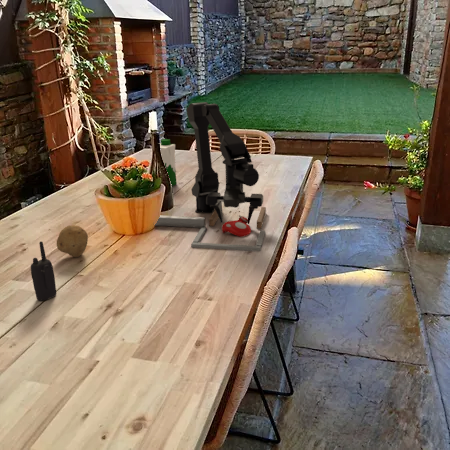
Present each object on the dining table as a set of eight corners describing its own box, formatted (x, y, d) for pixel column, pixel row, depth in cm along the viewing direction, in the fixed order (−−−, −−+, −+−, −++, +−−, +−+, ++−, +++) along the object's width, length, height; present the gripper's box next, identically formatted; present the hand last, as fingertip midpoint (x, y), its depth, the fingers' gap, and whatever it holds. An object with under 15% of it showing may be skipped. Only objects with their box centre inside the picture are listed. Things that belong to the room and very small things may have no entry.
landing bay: (191, 247, 148) (191, 244, 147) (201, 230, 161) (201, 227, 160) (259, 251, 144) (259, 248, 143) (264, 233, 157) (264, 230, 156)
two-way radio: (53, 290, 123) (43, 238, 118) (62, 296, 121) (53, 242, 115) (33, 299, 119) (23, 245, 114) (43, 305, 117) (32, 249, 111)
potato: (58, 264, 138) (53, 233, 134) (59, 252, 146) (54, 222, 142) (90, 260, 140) (86, 229, 136) (90, 248, 148) (86, 219, 144)
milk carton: (179, 183, 213) (177, 139, 206) (168, 189, 206) (165, 143, 198) (163, 181, 217) (160, 138, 210) (151, 186, 210) (148, 142, 202)
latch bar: (154, 225, 165) (153, 217, 164) (155, 223, 167) (155, 215, 166) (204, 227, 162) (203, 219, 161) (205, 225, 164) (205, 217, 163)
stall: (209, 226, 164) (209, 219, 163) (217, 211, 178) (217, 205, 177) (261, 228, 161) (261, 221, 160) (265, 213, 174) (265, 207, 174)
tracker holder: (255, 233, 154) (225, 229, 152) (251, 244, 157) (222, 240, 155) (249, 213, 164) (222, 209, 162) (246, 223, 167) (219, 219, 165)
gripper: (201, 185, 150) (203, 230, 156) (259, 186, 147) (259, 233, 153) (208, 175, 160) (210, 218, 166) (263, 177, 157) (263, 221, 163)
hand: (235, 223), depth 162 cm, fingers open, 9 cm apart
